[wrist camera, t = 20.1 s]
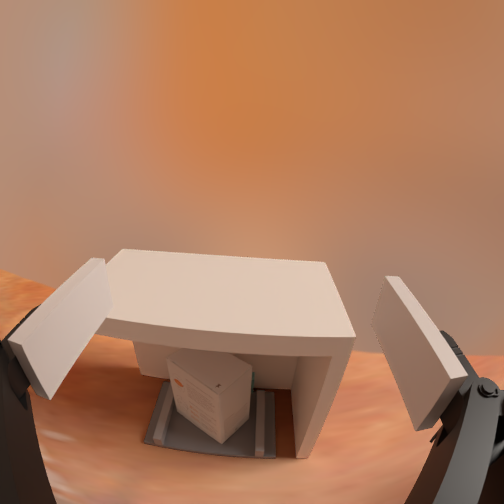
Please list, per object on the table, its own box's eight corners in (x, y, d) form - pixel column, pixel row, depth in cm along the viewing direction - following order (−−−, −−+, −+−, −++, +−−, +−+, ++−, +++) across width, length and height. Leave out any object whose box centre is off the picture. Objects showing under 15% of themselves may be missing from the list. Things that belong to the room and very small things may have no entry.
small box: (249, 419, 34) (254, 365, 30) (221, 446, 30) (219, 395, 26) (204, 390, 38) (200, 334, 34) (175, 411, 34) (164, 356, 30)
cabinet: (308, 458, 29) (356, 337, 21) (115, 436, 29) (63, 309, 21) (299, 382, 41) (325, 262, 33) (143, 368, 41) (122, 248, 34)
